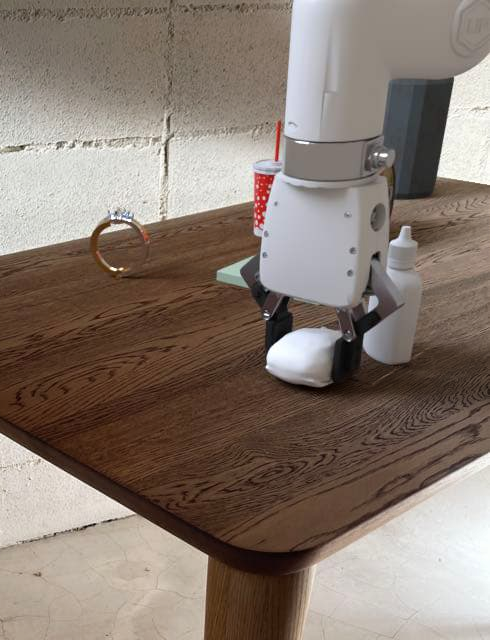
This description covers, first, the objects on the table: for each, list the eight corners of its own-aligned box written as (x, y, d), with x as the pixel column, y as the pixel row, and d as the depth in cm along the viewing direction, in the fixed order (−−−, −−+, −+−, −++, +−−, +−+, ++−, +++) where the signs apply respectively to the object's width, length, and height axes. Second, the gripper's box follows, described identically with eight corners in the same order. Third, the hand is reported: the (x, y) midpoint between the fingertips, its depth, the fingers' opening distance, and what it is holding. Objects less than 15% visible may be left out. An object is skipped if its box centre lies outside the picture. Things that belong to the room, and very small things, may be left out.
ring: (151, 276, 106) (151, 207, 101) (142, 284, 103) (141, 214, 99) (98, 270, 108) (96, 204, 104) (88, 278, 106) (85, 210, 101)
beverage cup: (272, 224, 122) (281, 114, 114) (303, 234, 117) (314, 120, 109) (238, 232, 119) (245, 120, 111) (268, 242, 115) (277, 127, 107)
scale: (380, 278, 101) (384, 253, 100) (321, 309, 94) (324, 282, 92) (274, 255, 110) (276, 231, 108) (212, 282, 103) (213, 257, 101)
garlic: (302, 349, 84) (306, 311, 82) (365, 367, 80) (370, 328, 78) (252, 377, 80) (254, 338, 78) (316, 397, 76) (320, 357, 74)
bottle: (353, 194, 133) (384, -41, 116) (381, 180, 139) (414, -45, 122) (419, 202, 128) (461, -43, 111) (445, 188, 134) (489, -47, 117)
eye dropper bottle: (408, 345, 85) (431, 219, 78) (409, 368, 81) (433, 237, 74) (362, 342, 86) (381, 217, 80) (360, 364, 82) (380, 235, 75)
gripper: (456, 160, 66) (418, 378, 77) (266, 139, 77) (255, 333, 87) (408, 182, 62) (374, 408, 72) (214, 156, 72) (209, 358, 83)
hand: (309, 365), depth 80 cm, fingers closed on garlic, 6 cm apart
